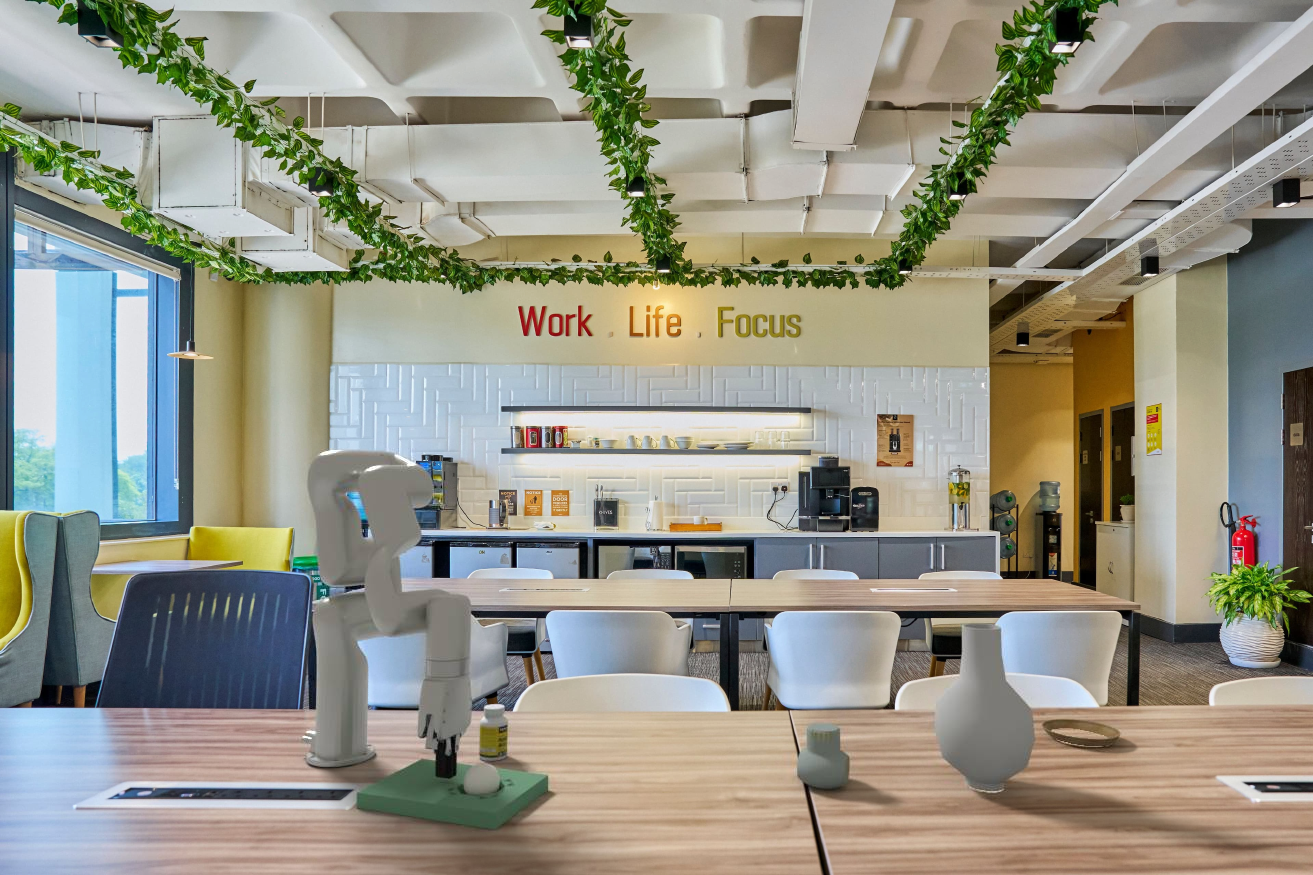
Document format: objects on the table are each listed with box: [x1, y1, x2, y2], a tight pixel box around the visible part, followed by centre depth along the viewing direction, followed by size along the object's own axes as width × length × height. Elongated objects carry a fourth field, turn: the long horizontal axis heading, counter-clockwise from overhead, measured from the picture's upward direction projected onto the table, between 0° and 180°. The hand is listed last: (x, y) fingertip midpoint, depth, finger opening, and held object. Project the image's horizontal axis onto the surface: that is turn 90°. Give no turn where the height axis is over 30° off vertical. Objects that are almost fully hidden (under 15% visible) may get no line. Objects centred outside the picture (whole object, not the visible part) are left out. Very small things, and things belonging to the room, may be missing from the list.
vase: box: [934, 622, 1036, 791], centre depth 148 cm, size 17×16×28 cm
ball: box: [463, 762, 500, 796], centre depth 140 cm, size 6×6×6 cm
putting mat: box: [356, 758, 549, 831], centre depth 141 cm, size 26×18×2 cm
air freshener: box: [796, 722, 851, 790], centre depth 149 cm, size 11×8×10 cm
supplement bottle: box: [478, 703, 509, 762], centre depth 163 cm, size 5×5×10 cm
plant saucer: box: [1041, 718, 1122, 747], centre depth 174 cm, size 15×15×3 cm
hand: (445, 776), depth 142 cm, fingers closed
